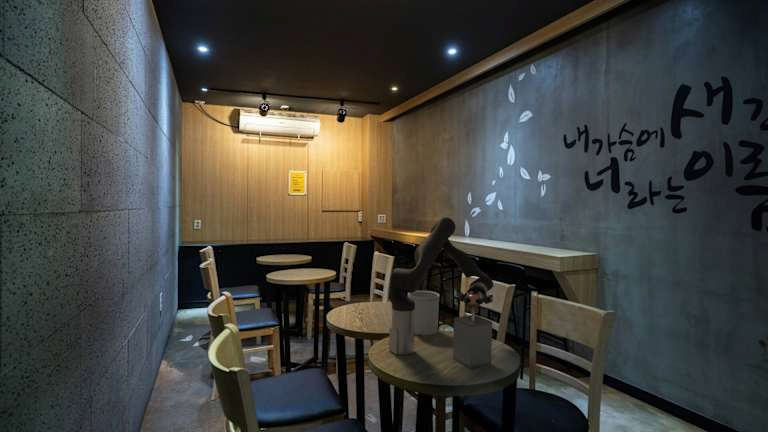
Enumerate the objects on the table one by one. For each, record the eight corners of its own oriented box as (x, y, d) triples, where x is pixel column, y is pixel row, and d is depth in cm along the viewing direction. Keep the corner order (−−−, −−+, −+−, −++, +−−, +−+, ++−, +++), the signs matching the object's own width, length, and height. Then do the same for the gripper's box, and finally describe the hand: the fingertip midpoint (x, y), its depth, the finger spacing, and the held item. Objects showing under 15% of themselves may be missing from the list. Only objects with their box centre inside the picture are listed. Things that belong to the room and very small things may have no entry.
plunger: (470, 361, 151) (472, 298, 151) (457, 354, 158) (459, 293, 158) (486, 358, 155) (488, 296, 154) (473, 351, 162) (475, 292, 161)
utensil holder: (437, 337, 185) (438, 298, 184) (404, 334, 188) (405, 296, 187) (439, 327, 199) (440, 291, 199) (409, 325, 202) (410, 289, 202)
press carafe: (469, 368, 150) (470, 324, 149) (453, 358, 159) (454, 317, 158) (491, 364, 154) (492, 321, 154) (473, 355, 163) (475, 314, 163)
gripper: (460, 282, 172) (453, 290, 155) (495, 285, 167) (492, 293, 151) (459, 300, 172) (453, 310, 156) (495, 303, 167) (492, 313, 151)
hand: (472, 301), depth 153 cm, fingers closed on plunger, 4 cm apart
